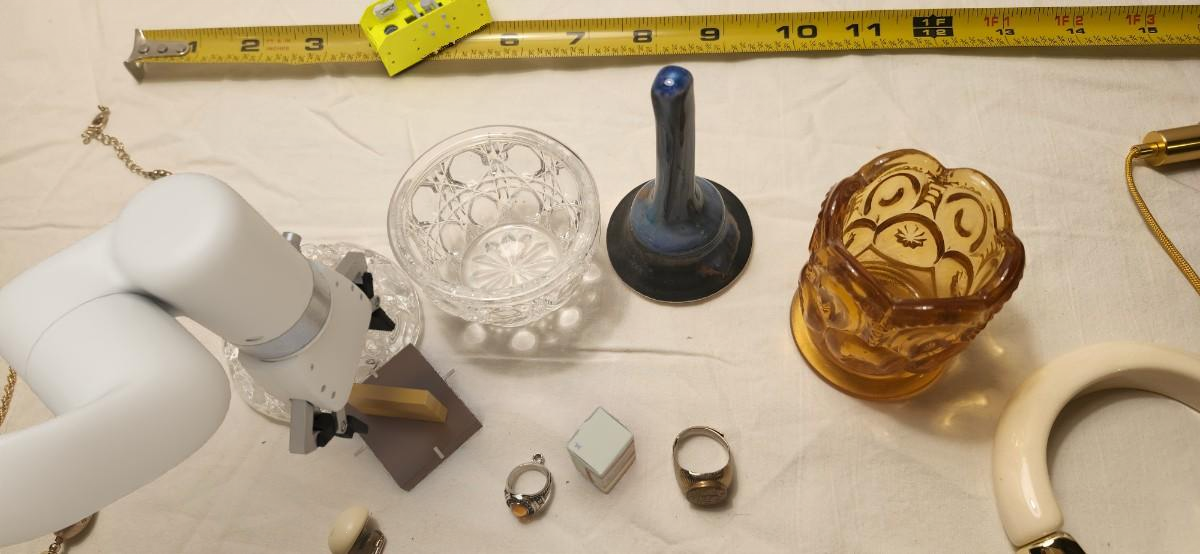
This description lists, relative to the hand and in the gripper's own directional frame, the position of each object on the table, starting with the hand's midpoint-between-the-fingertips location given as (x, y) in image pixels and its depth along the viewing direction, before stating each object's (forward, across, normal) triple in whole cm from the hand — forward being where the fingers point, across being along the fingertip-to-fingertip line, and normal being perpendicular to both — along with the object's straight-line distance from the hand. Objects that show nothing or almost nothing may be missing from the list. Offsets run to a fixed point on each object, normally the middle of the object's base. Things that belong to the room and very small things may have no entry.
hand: (366, 376), depth 67 cm
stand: (+14, 0, 0) cm, 14 cm away
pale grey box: (+14, +3, +21) cm, 26 cm away
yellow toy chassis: (+15, -52, -10) cm, 55 cm away
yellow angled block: (+11, 0, 0) cm, 11 cm away
